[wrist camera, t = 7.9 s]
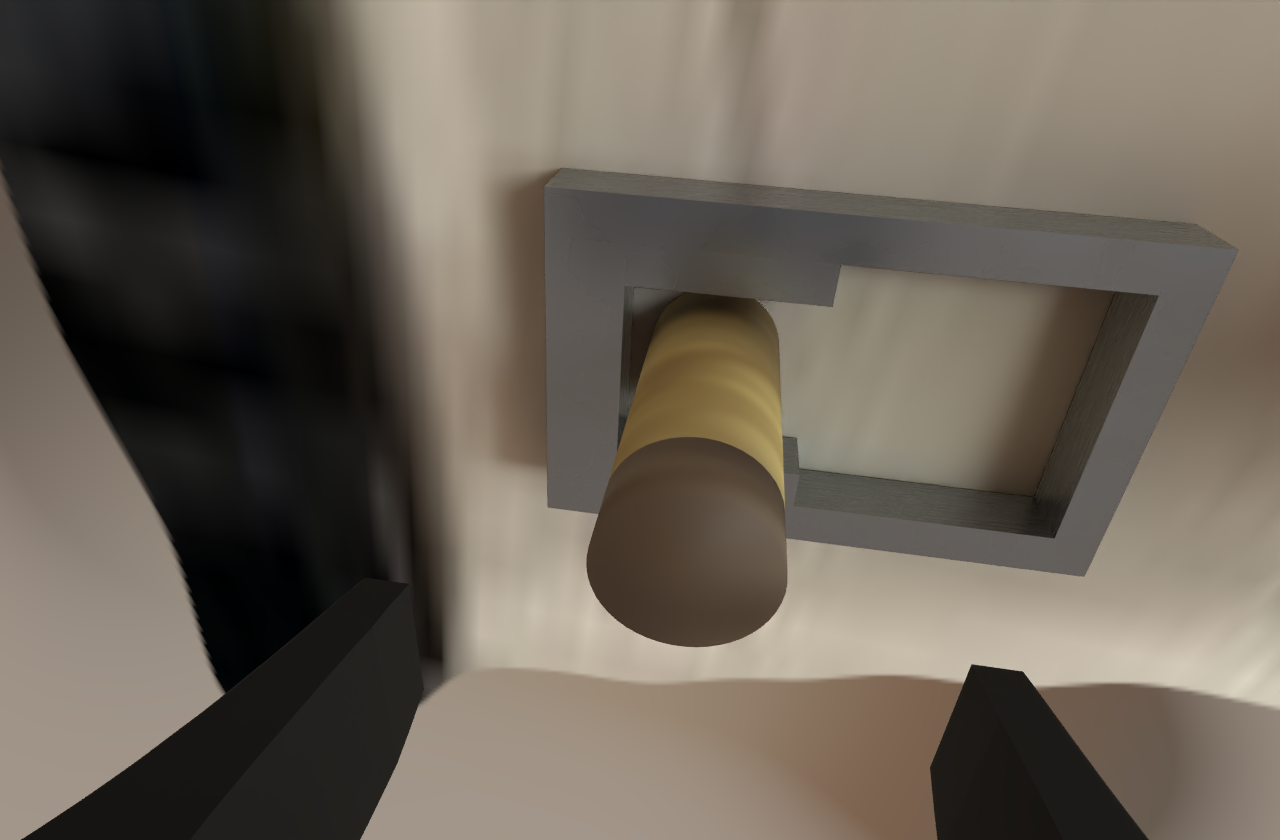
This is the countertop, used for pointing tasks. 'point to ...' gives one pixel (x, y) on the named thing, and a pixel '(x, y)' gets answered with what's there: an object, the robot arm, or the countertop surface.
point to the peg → (698, 481)
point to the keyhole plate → (808, 274)
